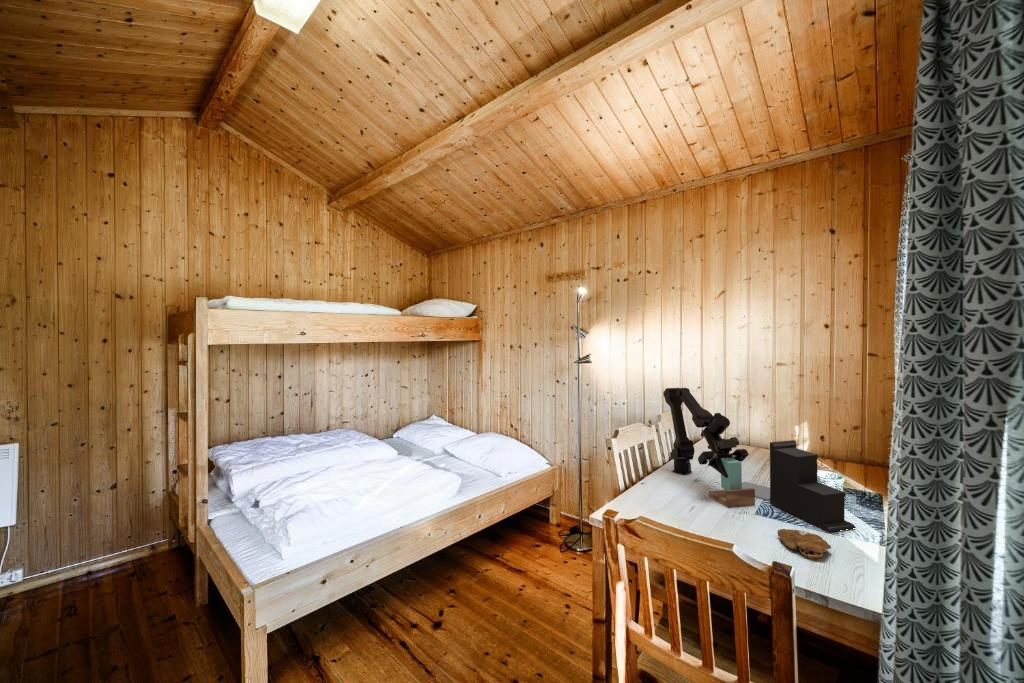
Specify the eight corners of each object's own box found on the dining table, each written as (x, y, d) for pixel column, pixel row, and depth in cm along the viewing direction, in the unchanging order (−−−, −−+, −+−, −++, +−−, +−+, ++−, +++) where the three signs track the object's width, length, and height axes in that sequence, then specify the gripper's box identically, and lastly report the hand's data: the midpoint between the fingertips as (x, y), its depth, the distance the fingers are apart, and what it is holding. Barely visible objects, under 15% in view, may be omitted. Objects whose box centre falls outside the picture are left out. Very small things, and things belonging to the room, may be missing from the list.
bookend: (857, 529, 132) (855, 457, 132) (829, 533, 130) (827, 459, 130) (793, 501, 155) (792, 439, 155) (769, 504, 153) (768, 441, 153)
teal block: (721, 487, 159) (720, 459, 159) (732, 486, 160) (732, 458, 160) (729, 492, 154) (729, 463, 154) (741, 491, 155) (741, 462, 155)
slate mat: (729, 490, 167) (729, 489, 167) (744, 482, 176) (744, 481, 176) (768, 500, 156) (767, 499, 156) (781, 491, 165) (781, 490, 165)
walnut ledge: (709, 496, 162) (709, 481, 162) (734, 494, 163) (734, 479, 163) (728, 507, 151) (727, 491, 151) (755, 505, 153) (754, 489, 153)
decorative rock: (844, 564, 114) (809, 540, 129) (844, 549, 114) (809, 526, 129) (801, 562, 114) (771, 537, 129) (801, 547, 114) (771, 524, 129)
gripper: (701, 431, 159) (720, 468, 149) (745, 428, 162) (766, 464, 151) (690, 446, 167) (707, 482, 157) (732, 443, 170) (751, 478, 159)
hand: (733, 476), depth 156 cm, fingers closed on teal block, 5 cm apart
